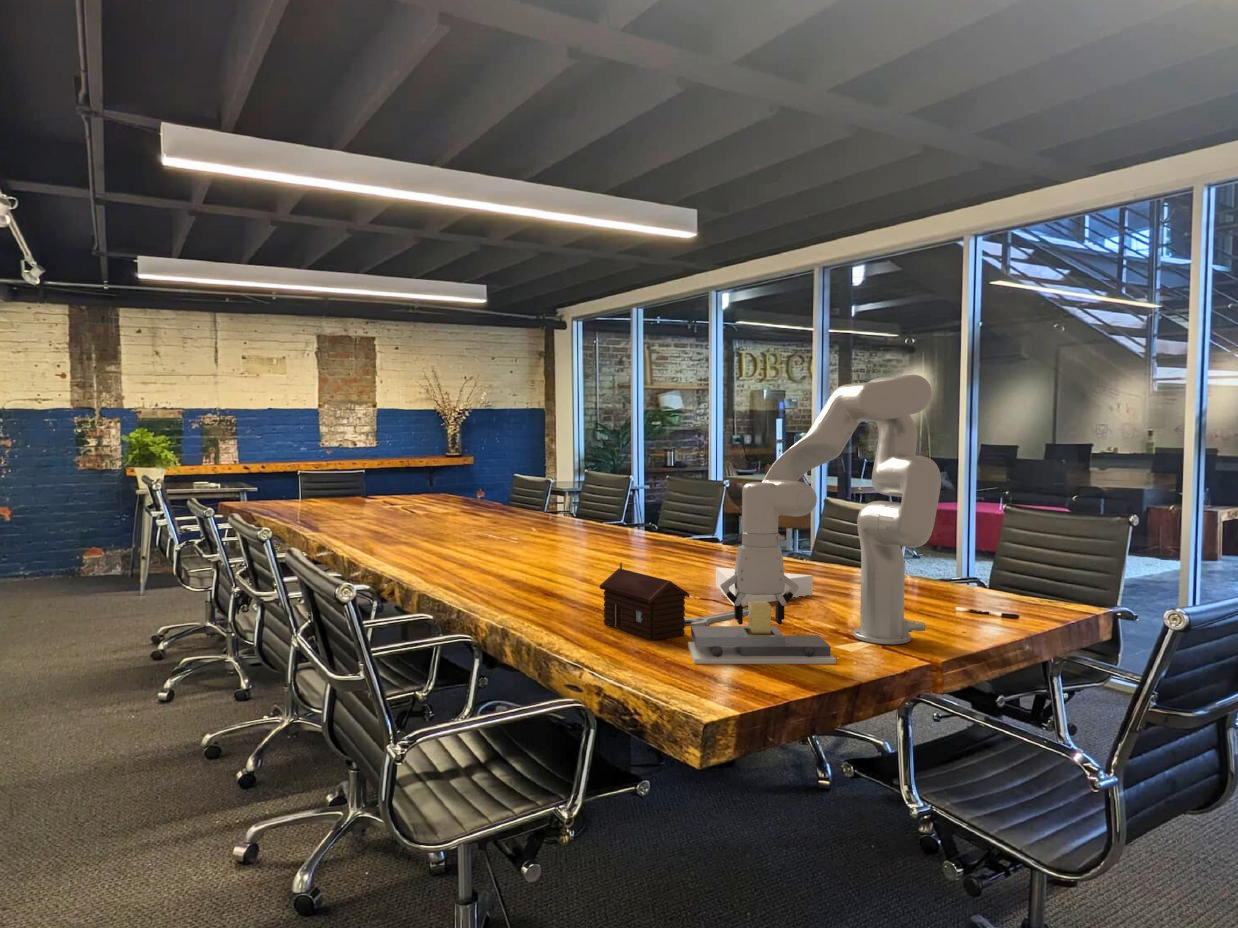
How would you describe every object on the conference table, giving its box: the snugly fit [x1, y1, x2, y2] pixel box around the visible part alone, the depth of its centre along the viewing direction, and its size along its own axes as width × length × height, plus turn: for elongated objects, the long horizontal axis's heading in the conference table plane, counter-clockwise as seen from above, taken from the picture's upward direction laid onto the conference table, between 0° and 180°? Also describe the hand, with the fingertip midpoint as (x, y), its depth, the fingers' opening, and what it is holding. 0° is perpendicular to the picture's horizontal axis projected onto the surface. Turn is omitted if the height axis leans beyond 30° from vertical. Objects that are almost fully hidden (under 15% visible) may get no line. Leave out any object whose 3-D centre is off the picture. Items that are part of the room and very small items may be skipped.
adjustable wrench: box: [684, 608, 748, 627], centre depth 193 cm, size 25×6×2 cm, turn 125°
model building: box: [599, 561, 691, 642], centre depth 184 cm, size 21×12×15 cm, turn 35°
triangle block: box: [715, 566, 814, 607], centre depth 227 cm, size 30×26×6 cm
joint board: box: [687, 641, 837, 665], centre depth 163 cm, size 29×13×1 cm, turn 90°
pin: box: [747, 601, 772, 635], centre depth 163 cm, size 4×4×10 cm
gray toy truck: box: [690, 625, 832, 657], centre depth 163 cm, size 28×10×4 cm, turn 90°
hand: (759, 622), depth 163 cm, fingers open, 7 cm apart
